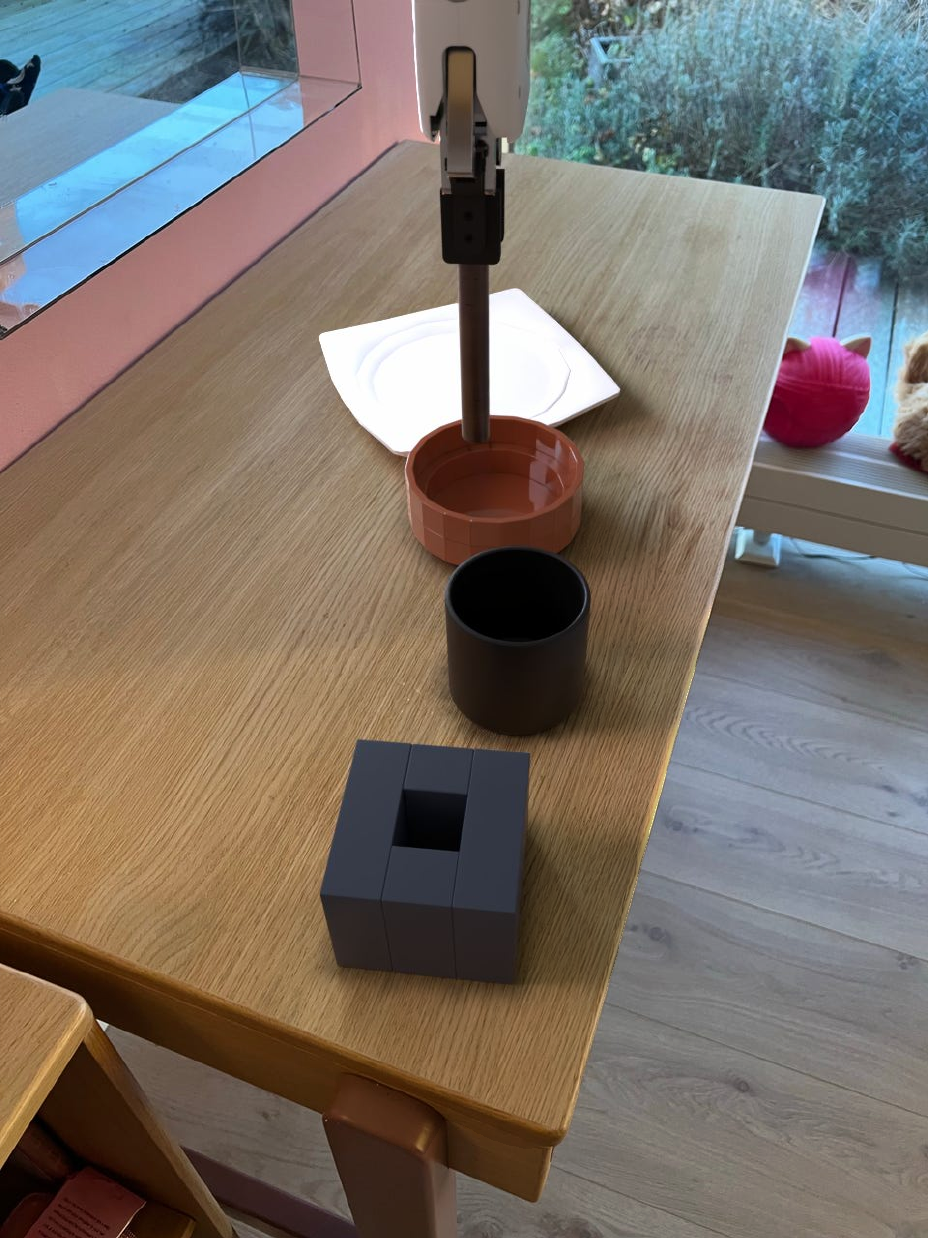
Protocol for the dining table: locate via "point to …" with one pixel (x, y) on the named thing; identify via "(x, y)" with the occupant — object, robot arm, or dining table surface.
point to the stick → (474, 349)
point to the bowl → (494, 489)
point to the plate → (430, 370)
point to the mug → (517, 638)
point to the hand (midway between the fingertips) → (473, 249)
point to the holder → (429, 861)
